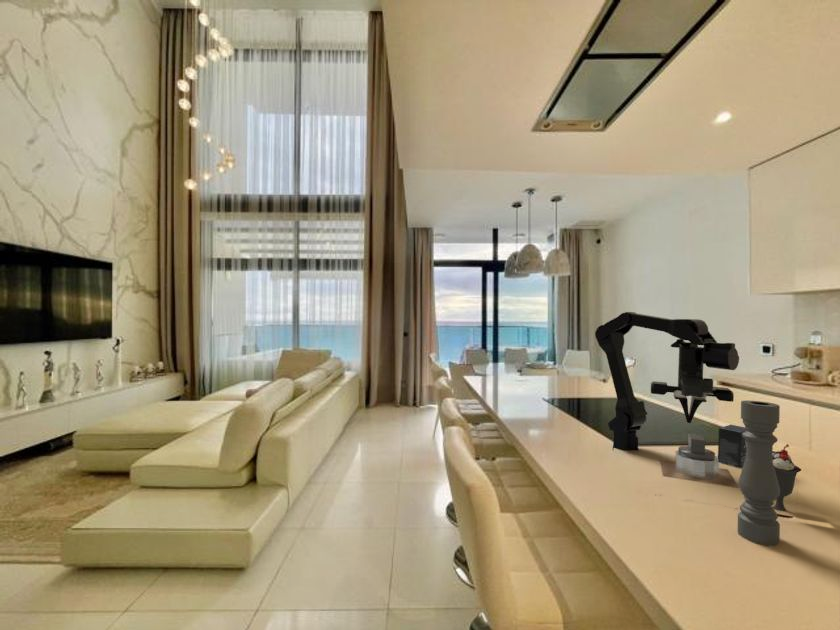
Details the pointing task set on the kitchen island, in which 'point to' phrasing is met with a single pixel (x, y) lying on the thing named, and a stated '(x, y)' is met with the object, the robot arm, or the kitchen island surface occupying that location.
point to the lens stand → (723, 478)
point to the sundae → (784, 477)
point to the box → (732, 446)
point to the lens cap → (696, 448)
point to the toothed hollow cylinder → (697, 467)
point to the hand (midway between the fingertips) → (688, 422)
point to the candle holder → (759, 474)
